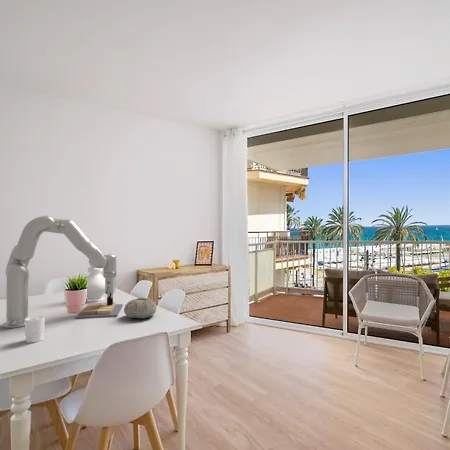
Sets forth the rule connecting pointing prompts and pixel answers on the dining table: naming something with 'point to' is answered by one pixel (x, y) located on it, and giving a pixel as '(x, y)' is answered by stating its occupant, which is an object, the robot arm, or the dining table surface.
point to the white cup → (34, 328)
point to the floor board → (113, 314)
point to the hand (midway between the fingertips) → (109, 304)
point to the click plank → (106, 308)
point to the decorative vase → (95, 285)
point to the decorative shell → (140, 308)
